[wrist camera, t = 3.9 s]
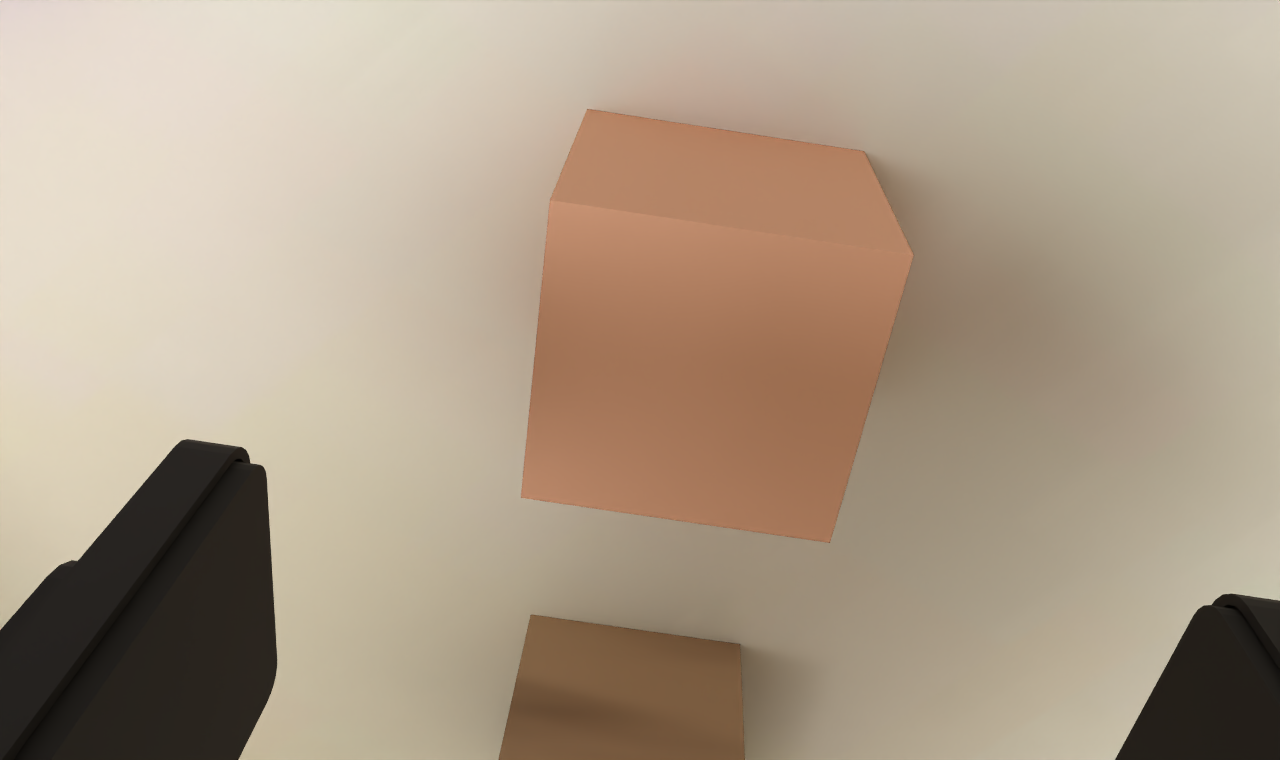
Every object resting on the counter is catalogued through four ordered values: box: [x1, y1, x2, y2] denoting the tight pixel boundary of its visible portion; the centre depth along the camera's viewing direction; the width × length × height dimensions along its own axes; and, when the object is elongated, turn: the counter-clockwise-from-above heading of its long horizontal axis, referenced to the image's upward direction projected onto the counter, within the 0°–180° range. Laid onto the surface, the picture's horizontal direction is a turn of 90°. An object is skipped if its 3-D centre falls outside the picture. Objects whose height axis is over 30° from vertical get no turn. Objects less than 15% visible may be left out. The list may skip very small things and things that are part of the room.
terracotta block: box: [521, 109, 914, 543], centre depth 17 cm, size 5×5×5 cm
